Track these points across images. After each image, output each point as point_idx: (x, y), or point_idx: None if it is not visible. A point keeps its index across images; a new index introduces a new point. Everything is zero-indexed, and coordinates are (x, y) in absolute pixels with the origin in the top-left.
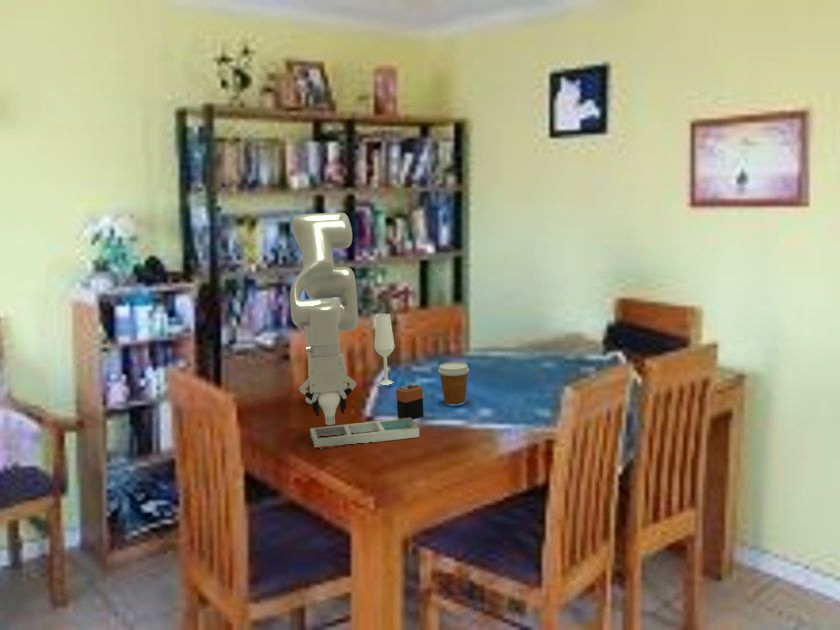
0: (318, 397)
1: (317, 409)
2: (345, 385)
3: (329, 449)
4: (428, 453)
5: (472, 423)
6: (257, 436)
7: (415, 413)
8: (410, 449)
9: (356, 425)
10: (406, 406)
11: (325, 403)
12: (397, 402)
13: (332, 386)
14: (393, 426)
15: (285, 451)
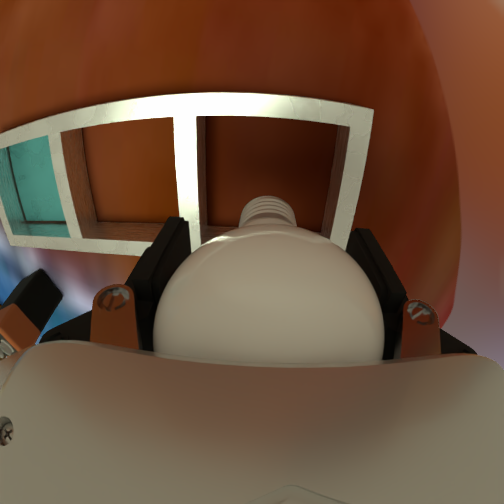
0: (383, 338)
1: (374, 252)
2: (11, 379)
3: (299, 72)
4: (8, 3)
5: None
6: (443, 302)
7: (22, 283)
8: (28, 27)
9: (148, 239)
10: (19, 295)
11: (334, 244)
12: (41, 324)
13: (213, 450)
14: (50, 225)
15: (450, 144)
